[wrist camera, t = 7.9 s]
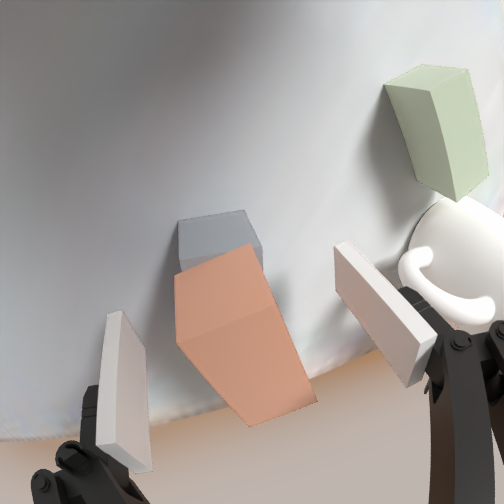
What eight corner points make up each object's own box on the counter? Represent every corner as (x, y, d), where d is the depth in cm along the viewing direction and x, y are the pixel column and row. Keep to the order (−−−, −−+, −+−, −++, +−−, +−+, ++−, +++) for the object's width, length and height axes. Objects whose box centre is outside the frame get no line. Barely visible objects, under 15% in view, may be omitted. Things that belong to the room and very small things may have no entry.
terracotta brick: (174, 275, 13) (176, 343, 10) (250, 242, 13) (276, 303, 10) (235, 367, 17) (249, 427, 14) (293, 343, 17) (317, 401, 14)
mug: (350, 293, 22) (432, 402, 14) (379, 182, 18) (510, 272, 10) (453, 278, 25) (525, 348, 17) (482, 195, 21) (575, 256, 13)
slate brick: (178, 220, 16) (179, 260, 13) (244, 210, 17) (261, 246, 14) (198, 319, 20) (204, 367, 17) (252, 310, 20) (267, 355, 17)
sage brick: (382, 84, 15) (429, 91, 12) (420, 64, 15) (467, 69, 12) (415, 180, 19) (456, 203, 16) (447, 156, 19) (489, 175, 15)
